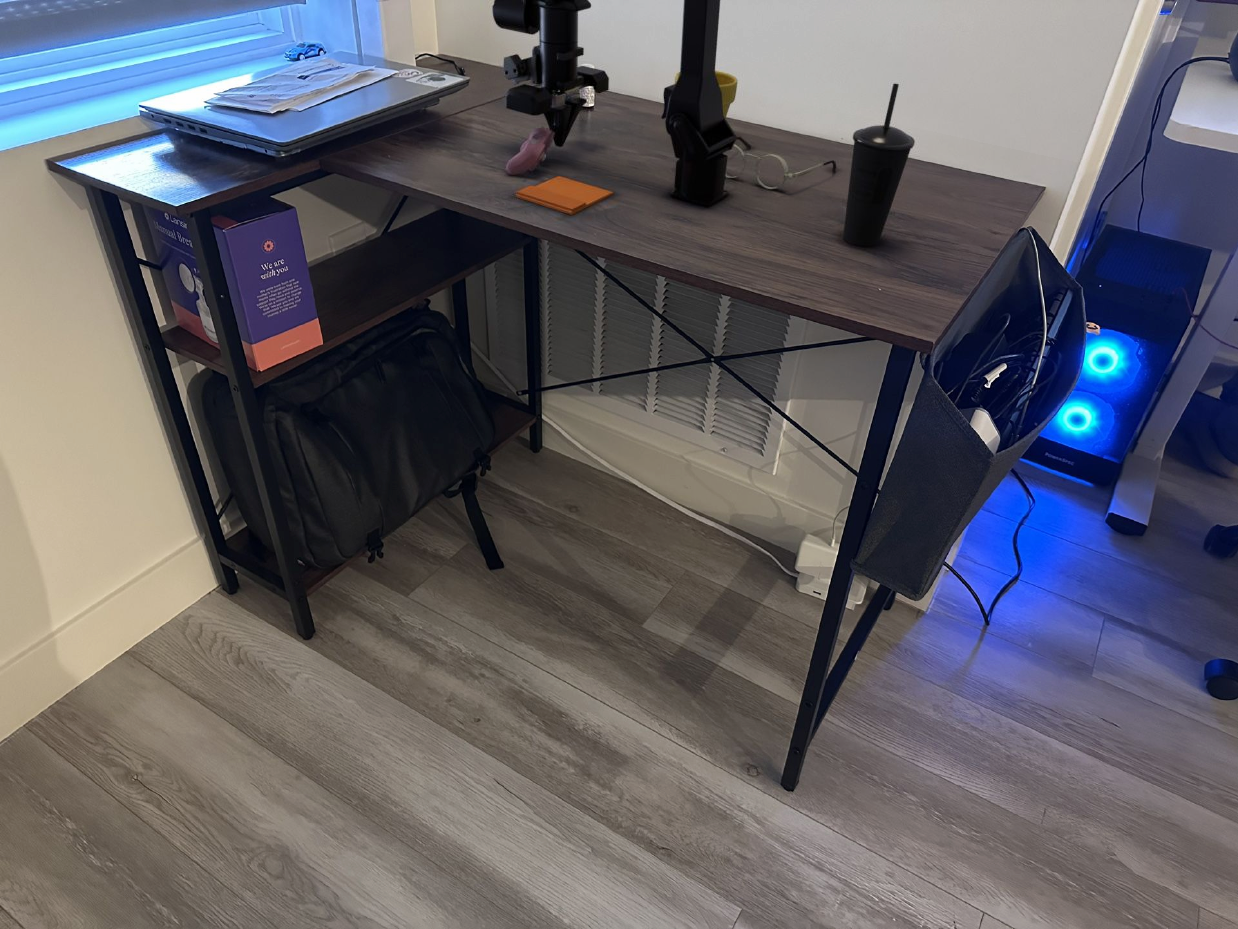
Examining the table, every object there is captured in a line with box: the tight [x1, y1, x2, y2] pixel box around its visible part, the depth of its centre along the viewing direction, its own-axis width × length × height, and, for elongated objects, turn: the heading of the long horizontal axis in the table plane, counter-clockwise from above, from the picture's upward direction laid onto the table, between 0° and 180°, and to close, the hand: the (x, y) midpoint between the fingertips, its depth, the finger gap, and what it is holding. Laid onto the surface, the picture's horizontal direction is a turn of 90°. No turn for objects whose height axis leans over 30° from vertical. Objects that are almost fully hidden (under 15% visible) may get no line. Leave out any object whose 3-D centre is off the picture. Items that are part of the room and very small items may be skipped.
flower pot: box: [674, 70, 738, 120], centre depth 148 cm, size 10×10×10 cm
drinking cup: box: [842, 83, 916, 248], centre depth 113 cm, size 8×8×20 cm
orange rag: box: [515, 175, 614, 216], centre depth 127 cm, size 10×10×1 cm
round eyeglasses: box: [725, 136, 837, 190], centre depth 137 cm, size 17×15×5 cm
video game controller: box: [505, 125, 555, 176], centre depth 134 cm, size 10×5×7 cm, turn 170°
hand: (559, 146), depth 139 cm, fingers closed
